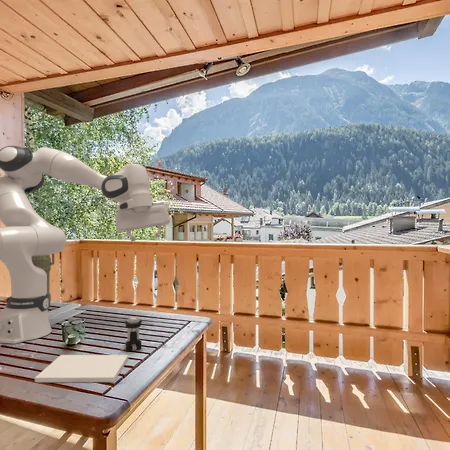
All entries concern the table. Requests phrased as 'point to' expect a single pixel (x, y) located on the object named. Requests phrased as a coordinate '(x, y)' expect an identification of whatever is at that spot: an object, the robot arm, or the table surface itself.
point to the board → (83, 368)
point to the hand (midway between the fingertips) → (145, 239)
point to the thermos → (44, 268)
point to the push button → (133, 334)
